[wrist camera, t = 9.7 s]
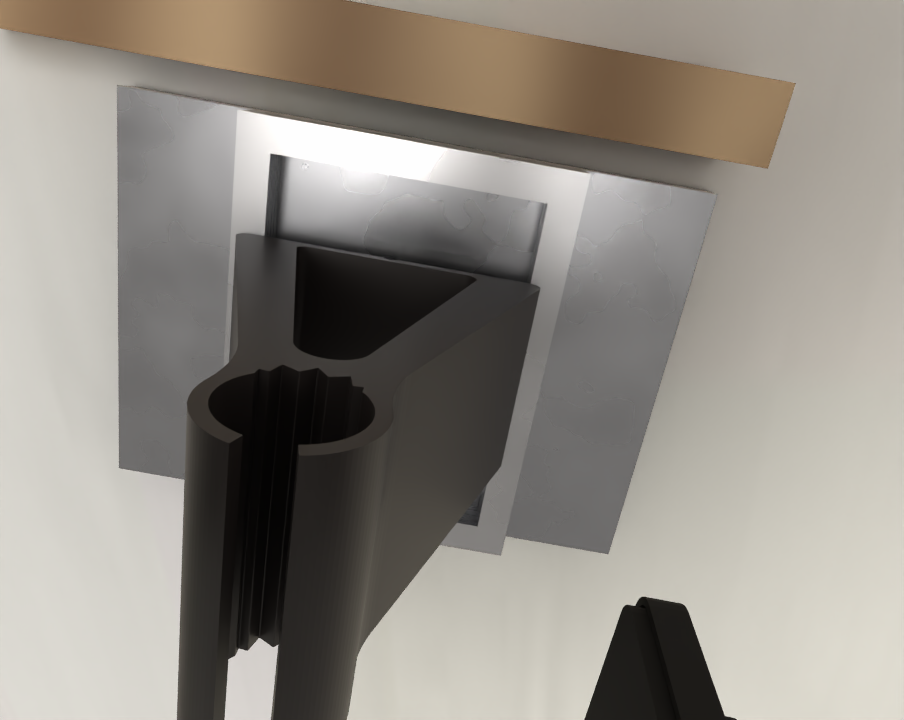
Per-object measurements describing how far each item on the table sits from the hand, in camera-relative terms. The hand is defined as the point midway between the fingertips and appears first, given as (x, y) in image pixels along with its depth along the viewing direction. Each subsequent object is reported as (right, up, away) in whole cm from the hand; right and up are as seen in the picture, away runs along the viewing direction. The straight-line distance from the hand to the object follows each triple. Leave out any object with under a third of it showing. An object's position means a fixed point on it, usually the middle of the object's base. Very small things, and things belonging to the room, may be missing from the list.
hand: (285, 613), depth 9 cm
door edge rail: (0, +13, +11) cm, 17 cm away
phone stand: (0, +4, +12) cm, 12 cm away
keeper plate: (0, +4, +14) cm, 14 cm away
